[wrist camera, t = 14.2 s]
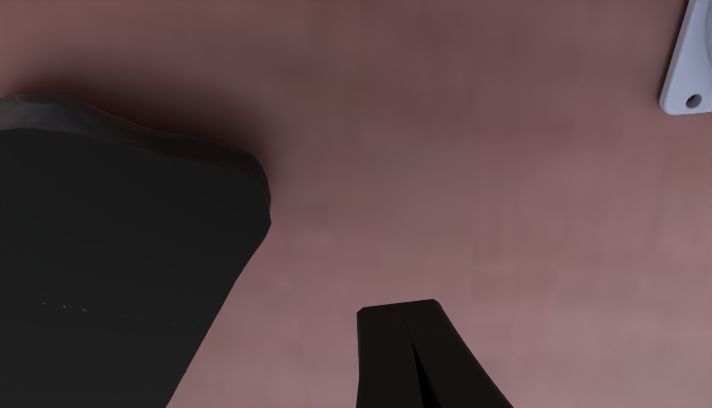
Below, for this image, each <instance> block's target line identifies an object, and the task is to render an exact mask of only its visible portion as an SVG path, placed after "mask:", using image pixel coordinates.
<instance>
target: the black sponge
mask: <svg viewBox="0 0 712 408" xmlns="http://www.w3.org/2000/svg"><path fill="white" fill-rule="evenodd" d="M270 208H271V195H270V190H269V185H268V180H267V177H266V175H265V172H264V170H263V168H262V166H261V164H260V163H259V161H258V160H257V159H256V158H255V157H254V156H253V155H251V154H250V153H248V152H246V151H244V150H241V149H238V148H234V147H231V146H227V145H225V144H222V143H219V142H217V141H214V140H211V139H206V138H201V137H195V136H190V135H185V134H179V133H173V132H166V131H158V130H154V129H151V128H147V127H144V126H141V125H137V124H135V123H133V122H131V121H129V120H127V119H124V118H121V117H118V116H115V115H112V114H110V113H107V112H105V111H102V110H99V109H97V108H95V107H93V106H91V105H89V104H87V103H85V102H83V101H81V100H80V99H78V98H76V97H75V96H73V95H69V94H65V93H31V94H15V95H8V96H6V97H4V98H2V99H0V408H166V406H167V404H168V403H169V401H170V399H171V397H172V396H173V394H174V392H175V390H176V388H177V386H178V384H179V382H180V381H181V379H182V377H183V375H184V374H185V372H186V370H187V368H188V366H189V365H190V363H191V361H192V359H193V357H194V356H195V354H196V352H197V350H198V348H199V346H200V345H201V343H202V341H203V339H204V337H205V336H206V334H207V332H208V330H209V328H210V327H211V325H212V323H213V321H214V320H215V318H216V316H217V314H218V313H219V311H220V309H221V307H222V305H223V303H224V302H225V300H226V298H227V296H228V294H229V292H230V290H231V289H232V287H233V285H234V283H235V281H236V280H237V278H238V277H239V275H240V274H241V272H242V270H243V269H244V267H245V266H246V264H247V263H248V261H249V260H250V258H251V257H252V255H253V254H254V252H255V251H256V250H257V248H258V247H259V246H260V244H261V243H262V242H263V240H264V239H265V237H266V235H267V232H268V230H269V228H270V225H271V219H270V213H269V212H270Z"/></svg>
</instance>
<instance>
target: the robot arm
mask: <svg viewBox="0 0 712 408" xmlns="http://www.w3.org/2000/svg"><path fill="white" fill-rule="evenodd" d="M692 95H695V96H694V98H693V99H692V100H691V101H690V102H687V100H688V98H690V97H691V96H692ZM686 102H687V103H686ZM659 105H660V107H661V109H663V110H664V111H665V112H666V113H667V114H669V115H684V114H696V113H708V112H712V0H689V3H688V6H687V10H686V13H685V16H684V20H683V23H682V26H681V30H680V33H679V36H678V40H677V43H676V46H675V50H674V53H673V56H672V59H671V63H670V66H669V69H668V73H667V76H666V79H665V83H664V86H663V89H662V93H661V96H660V100H659ZM357 333H358V357H359V385H358V394H357V403H356V408H513V406H512V405H511V404H510V403H509V401H508V400H507V399H506V398H505V396H504V395H503V394H502V392H501V391H500V390H499V389H498V387H497V386H496V385H495V384H494V382H493V381H492V380H491V379H490V377H489V376H488V375H487V373H486V372H485V371H484V369H483V368H482V366H481V365H480V364H479V362H478V361H477V360H476V358H475V357H474V355H473V354H472V353H471V351H470V350H469V348H468V347H467V346H466V344H465V343H464V341H463V340H462V338H461V337H460V335H459V334H458V332H457V331H456V329H455V328H454V326H453V325H452V323H451V322H450V320H449V318H448V317H447V315H446V314H445V312H444V310H443V309H442V307H441V305H440V303H438V302H437V301H436V300H434V299H428V300H420V301H412V302H404V303H395V304H387V305H379V306H370V307H363V308H362V309H361V310H359V311H358V312H357Z"/></svg>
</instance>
